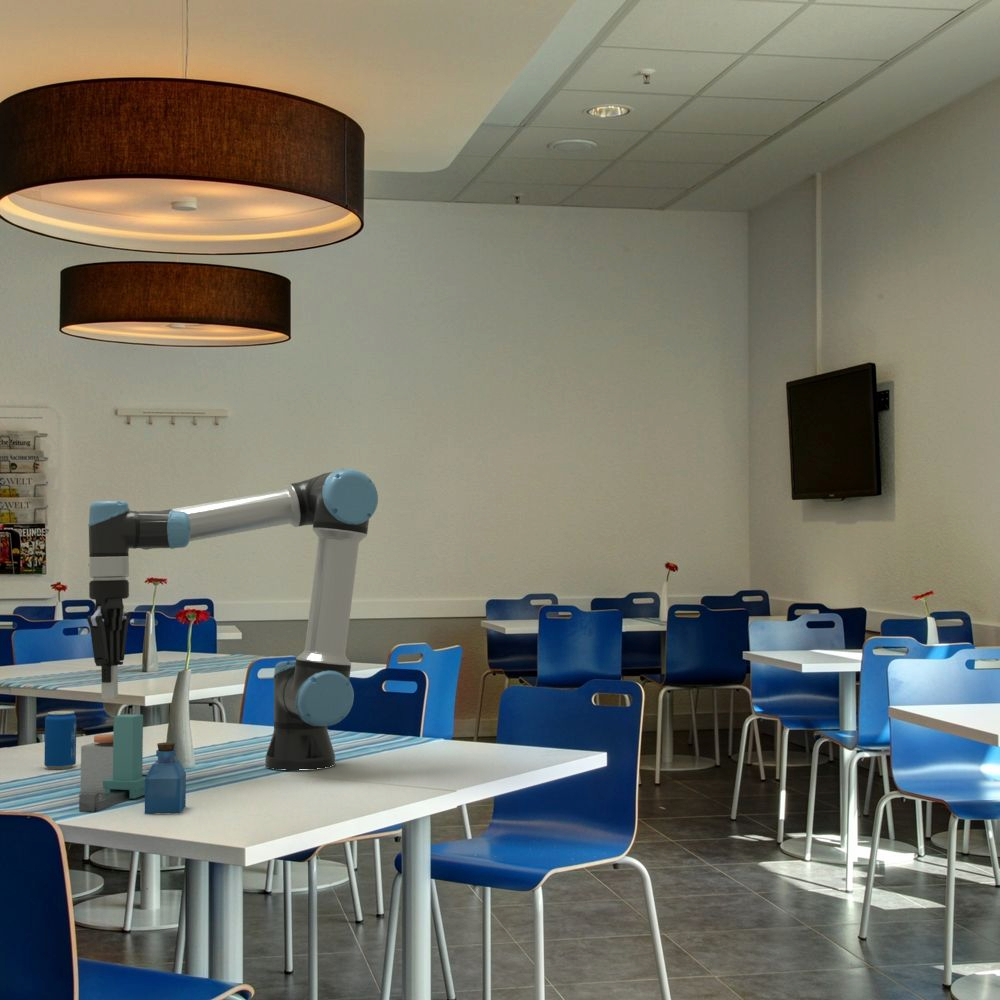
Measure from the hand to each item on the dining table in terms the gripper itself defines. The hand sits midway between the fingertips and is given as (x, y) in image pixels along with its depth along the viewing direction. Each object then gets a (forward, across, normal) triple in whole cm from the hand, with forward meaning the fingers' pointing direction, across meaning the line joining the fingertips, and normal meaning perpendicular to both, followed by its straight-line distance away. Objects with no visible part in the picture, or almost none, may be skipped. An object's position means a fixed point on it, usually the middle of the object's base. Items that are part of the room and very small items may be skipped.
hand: (109, 698), depth 257 cm
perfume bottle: (+18, +17, +20) cm, 32 cm away
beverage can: (+18, -23, -24) cm, 38 cm away
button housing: (+18, 0, -1) cm, 18 cm away
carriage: (+18, +6, +7) cm, 20 cm away
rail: (+18, +9, +7) cm, 21 cm away
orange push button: (+13, 0, -1) cm, 13 cm away
